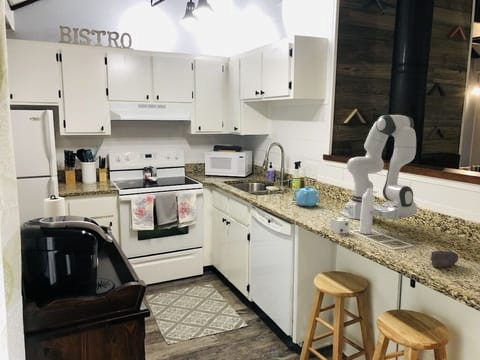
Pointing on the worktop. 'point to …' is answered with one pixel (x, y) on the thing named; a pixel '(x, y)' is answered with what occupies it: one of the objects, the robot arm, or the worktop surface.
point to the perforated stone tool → (443, 258)
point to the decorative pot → (306, 197)
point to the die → (339, 225)
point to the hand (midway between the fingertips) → (366, 211)
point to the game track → (383, 241)
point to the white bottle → (367, 212)
